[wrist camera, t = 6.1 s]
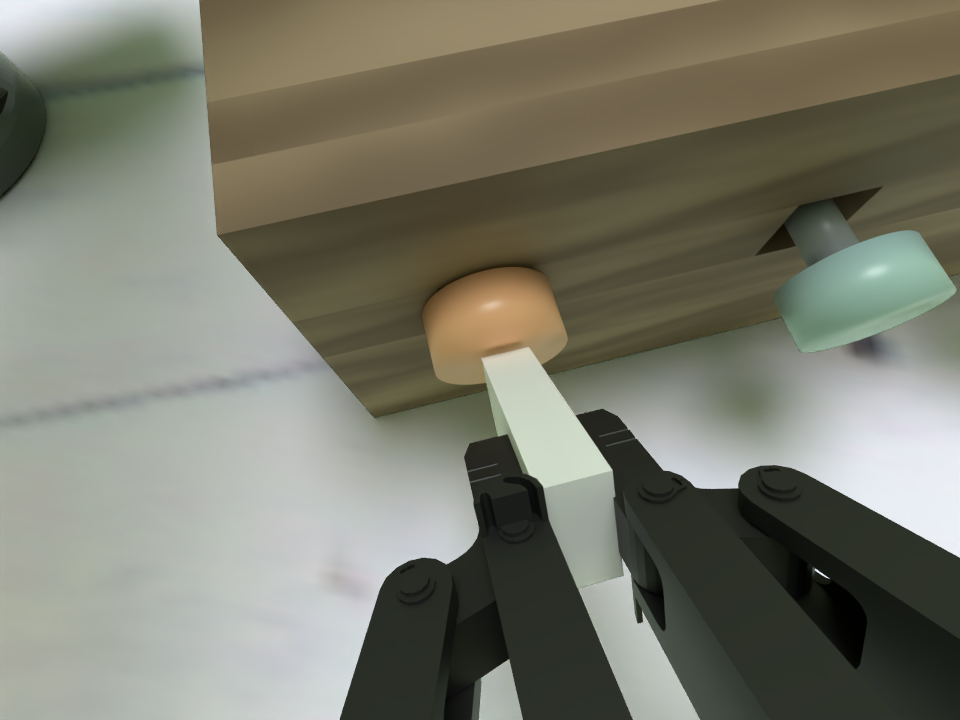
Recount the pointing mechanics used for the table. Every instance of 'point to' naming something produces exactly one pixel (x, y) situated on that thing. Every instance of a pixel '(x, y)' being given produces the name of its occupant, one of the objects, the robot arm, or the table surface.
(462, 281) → the terracotta button
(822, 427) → the table surface
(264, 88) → the console
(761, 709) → the robot arm
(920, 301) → the teal button
